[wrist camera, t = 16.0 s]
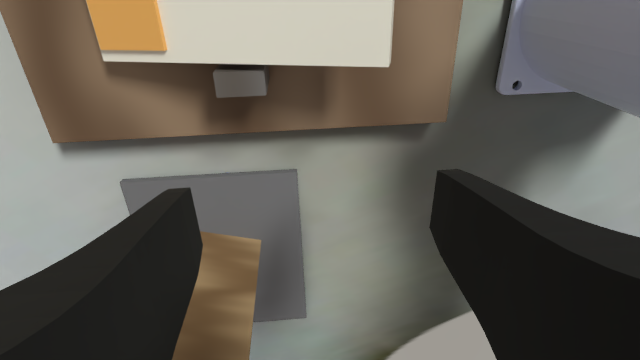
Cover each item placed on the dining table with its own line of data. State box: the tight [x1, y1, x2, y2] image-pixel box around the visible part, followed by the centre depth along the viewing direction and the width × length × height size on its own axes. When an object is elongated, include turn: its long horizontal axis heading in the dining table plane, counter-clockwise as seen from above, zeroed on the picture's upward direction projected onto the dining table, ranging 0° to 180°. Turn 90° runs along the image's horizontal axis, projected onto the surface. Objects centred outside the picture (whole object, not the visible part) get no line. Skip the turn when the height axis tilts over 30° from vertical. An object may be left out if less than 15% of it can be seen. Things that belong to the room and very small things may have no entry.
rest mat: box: [120, 169, 306, 322], centre depth 24 cm, size 10×12×1 cm
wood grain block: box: [172, 231, 261, 360], centre depth 20 cm, size 4×4×10 cm
